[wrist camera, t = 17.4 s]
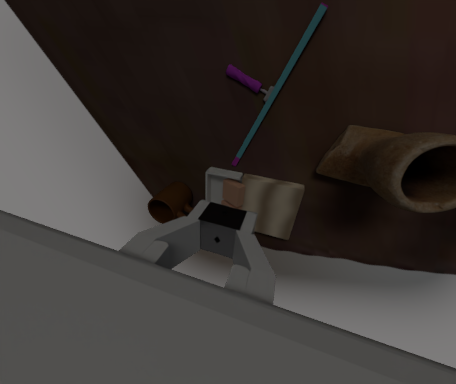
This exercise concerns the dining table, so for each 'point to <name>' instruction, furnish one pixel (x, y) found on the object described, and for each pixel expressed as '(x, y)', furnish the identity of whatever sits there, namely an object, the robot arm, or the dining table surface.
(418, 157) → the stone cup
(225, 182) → the tile
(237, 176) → the tray
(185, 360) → the robot arm
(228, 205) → the tile
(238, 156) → the squeegee
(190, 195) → the mug
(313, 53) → the dining table surface
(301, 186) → the board
